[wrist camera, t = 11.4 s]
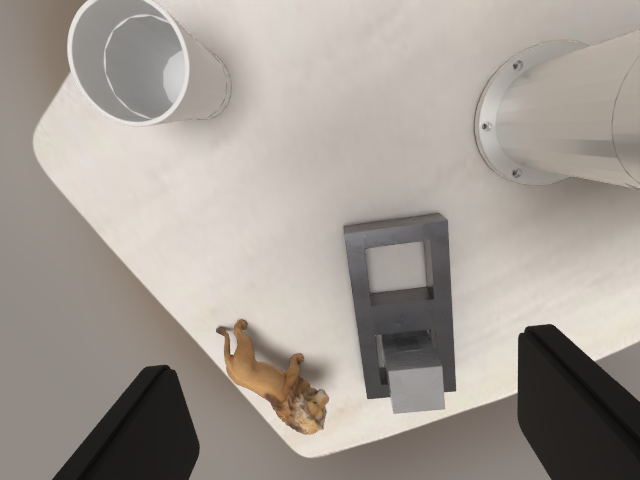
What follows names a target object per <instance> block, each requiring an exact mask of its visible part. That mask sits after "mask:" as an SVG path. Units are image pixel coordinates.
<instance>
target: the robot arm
mask: <svg viewBox="0 0 640 480" xmlns="http://www.w3.org/2000/svg"><path fill="white" fill-rule="evenodd" d="M513 65H515V66H516V68H515V70H514V69H513ZM483 124H485V126H486V127H485V129H482V125H483ZM475 136H476V142H477V145H478V148H479V150H480V153H481V155H482V157H483V158H484V160H485V161H486V163H487V164H488V165H489V166H490V167H491V168H492V169H493V170H494V171H495V172H496V173H498V174H499V175H501V176H502V177H504V178H506V179H508V180H511V181H514V182H517V183H521V184H526V185H545V184H552V183H555V182H559V181H562V180H565V179H567V178H569V177H571V176H573V177H578V178H583V179H589V180H594V181H599V182H604V183H609V184H614V185H620V186H625V187H630V188H635V189H640V30H637V31H634V32H631V33H628V34H625V35H622V36H619V37H616V38H613V39H610V40H607V41H604V42H601V43H598V44H595V45H592V46H588V45H586V44H583V43H580V42H576V41H569V40H558V41H549V42H545V43H542V44H538V45H535V46H533V47H530V48H528V49H526V50H524V51H522V52H520V53H519V54H517V55H515V56H514V57H512V58H511V59H510V60H508V61H507V62H506V63H505V64H504V65H503V66H501V67H500V68H499V69H498V71H497V72H496V73H495V74H494V75H493V77H492V78H491V79H490V81H489V82H488V84H487V86H486V87H485V89H484V91H483V93H482V95H481V98H480V100H479V103H478V106H477V111H476V116H475ZM514 170H515V173H514V174H513V175H512V173H513V171H514ZM518 422H519V425H520V428H521V430H522V432H523V434H524V436H525V437H526V439H527V440H528V442H529V444H530V445H531V447H532V449H533V450H534V452H535V454H536V455H537V457H538V458H539V460H540V462H541V463H542V465H543V466H544V468H545V470H546V471H547V473H548V475H549V476H550V478H551V479H552V480H640V402H639V401H638V400H637V399H636V398H635V397H634V396H632V395H631V394H630V393H629V392H628V391H627V390H626V389H625V388H624V387H622V386H621V385H620V384H619V383H618V382H617V381H615V380H614V379H613V378H612V377H611V376H610V375H609V374H608V373H606V372H605V371H604V370H603V369H602V368H601V367H600V366H599V365H597V364H596V363H595V362H594V361H593V360H592V359H591V358H590V357H589V356H587V355H586V354H585V353H584V352H583V351H582V350H581V349H580V348H579V347H577V346H576V345H575V344H574V343H573V342H572V341H571V340H570V339H569V338H567V337H566V336H565V335H564V334H563V333H562V332H561V331H560V330H559V329H557V328H556V327H555V326H554V325H552V324H546V325H537V326H528V327H526V328H525V331H524V333H520V334H519V337H518ZM199 449H200V447H199V441H198V438H197V435H196V432H195V429H194V425H193V422H192V419H191V416H190V413H189V410H188V407H187V404H186V401H185V398H184V395H183V392H182V389H181V386H180V382H179V379H178V376H177V373H176V371H175V370H172V369H170V367H169V366H168V365H158V366H149V367H145V368H144V369H143V370H142V371H141V372H140V373H139V375H138V376H137V377H136V378H135V379H134V381H133V382H132V383H131V384H130V385H129V387H128V388H127V389H126V390H125V392H124V393H123V394H122V395H121V396H120V398H119V399H118V400H117V401H116V403H115V404H114V405H113V406H112V407H111V409H110V410H109V411H108V412H107V413H106V415H105V416H104V417H103V418H102V419H101V421H100V422H99V423H98V424H97V426H96V427H95V428H94V429H93V430H92V432H91V433H90V434H89V435H88V437H87V438H86V439H85V440H84V441H83V443H82V444H81V445H80V446H79V447H78V449H77V450H76V451H75V452H74V454H73V455H72V456H71V457H70V458H69V460H68V461H67V462H66V463H65V464H64V466H63V467H62V468H61V470H60V471H59V472H58V473H57V474H56V475H55V477H54V478H53V479H52V480H189V477H190V475H191V473H192V470H193V468H194V466H195V463H196V461H197V459H198V456H199Z"/></svg>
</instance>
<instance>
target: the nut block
mask: <svg viewBox="0 0 640 480" xmlns="http://www.w3.org/2000/svg"><path fill="white" fill-rule="evenodd" d="M380 338H381V346H382V354H383V362H384V368H385V373H386V378H387V383H388V388H389V393H390V398H391V403H392V408H393V413H394V414H396V413H407V412H419V411H430V410H442V409H445V401H444V386H443V371H442V365H441V362H440V360H439V358H438V356H437V353H436V351H435V349H434V347H433V344H432V342H431V340H430V338H429V335H428V333H427V331H426V330H421V331H412V332H402V333H393V334H383V335H380Z"/></svg>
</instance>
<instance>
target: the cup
mask: <svg viewBox="0 0 640 480" xmlns="http://www.w3.org/2000/svg"><path fill="white" fill-rule="evenodd" d="M67 50H68V59H69V65H70V69H71V72H72V75H73V78H74V80H75V82H76V84H77V86H78V88H79V90H80V91H81V93H82V95H83V96H84V97H85V99H86V100H87V101H88V102H89V103H90V104H91V105H92V106H93V107H94V108H95V109H96V110H97V111H98V112H99V113H101V114H102V115H104V116H105V117H107V118H108V119H110V120H112V121H114V122H117V123H119V124H123V125H127V126H133V127H143V126H150V125H157V124H164V123H169V122H173V121H181V120H190V119H200V120H205V119H210V118H213V117H215V116H217V115H218V114H220V113H221V112H222V111H223V110H224V109H225V107H226V106H227V104H228V102H229V99H230V96H231V80H230V76H229V73H228V71H227V69H226V67H225V65H224V64H223V63H222V61H221V60H220V59H219V58H218V57H217V56H215V55H214V54H212V53H211V52H209V51H208V50H207V49H206V48H205V47H204V46H203V45H202V44H200V43H199V42H198V41H197V40H196V39H195V38H194V37H193V36H192V35H190V34H189V33H188V32H187V31H186V30H185V29H184V28H183V27H182V26H181V25H180V24H179V23H178V22H177V21H176V20H175V19H174V18H173V17H172V16H171V15H170V14H169V13H168V12H167V11H166V10H165V9H163V8H162V7H161V6H160V5H159V4H158V3H156V2H155V1H153V0H88V1H87V2H85V3H84V4H83V5H82V7H81V8H80V9H79V11H78V12H77V13H76V15H75V17H74V19H73V21H72V24H71V27H70V30H69V35H68V44H67Z"/></svg>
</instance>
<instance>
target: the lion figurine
mask: <svg viewBox="0 0 640 480" xmlns="http://www.w3.org/2000/svg"><path fill="white" fill-rule="evenodd" d="M244 329H247V323H246V321H244V320H239V321H238V322H237V323H236V324H235V326H234V332H233V333H234V335H235V336H236V338H237V344H238V345H237V349H236V351H235V353H234V356H233V355H231V354H230V339H229V334H228V333H227V332H226V331H225V330H224V329H223V328H217V329H216V332H217V333H219V334H221V335H223V336H225V345H224V357H225V363H226V365H227V367H226V368H227V373H228V375H229V377H230V378H231V379H232V380H233V382H234V383H236V384H237V385H240V386H242V387H245V388H248V389H250V390H252V391H254V392H255V393H257V394H258V395H260V396H261V397H263V398H265V399H266V400H268V401H269V402H270V403H271V405H272V407H273V409H274V410H275V411H276V414H277V415H278V417H279V418H280V419H282V421H283V422H285V423H286V425H287V426H289V427H291V428H292V429H295V430H296V431H297V432H300V433H302V434H305V435H306V434H309V435H310V434H314V433H316V432H317V431H319V430H323V429H324V428H323V425H324V422H325V421H324V420H325V416H326V412H327V411H326V409H325V405H326V404H327V403H328V401H329V397H328V395H327V394H326V393H325V391H324V390H323V389H319V390H318V391H317V390H316V389H314V388H311V387H310V384H309V383H308V382H307V381H305V380H304V379H303V378H300V375H299V366H298V364H300V363H301V362H303V361H304V360H303V359H304V357H303V356H302V354H296V355H294V356H293V357H292V358H291V360H290V367H289V368H288V369H287V370H286V371H285V373H283V372H282V371H281V370H279V369H278V368H276V367H275V366H273V365H271V364H268V363H265V362H257V361H256V360H255V356H254V350H253V347H252V344H251V342H250V340H249V339H248V337H247V336H246V335H245V334H244V332H243V331H242V330H244Z"/></svg>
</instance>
